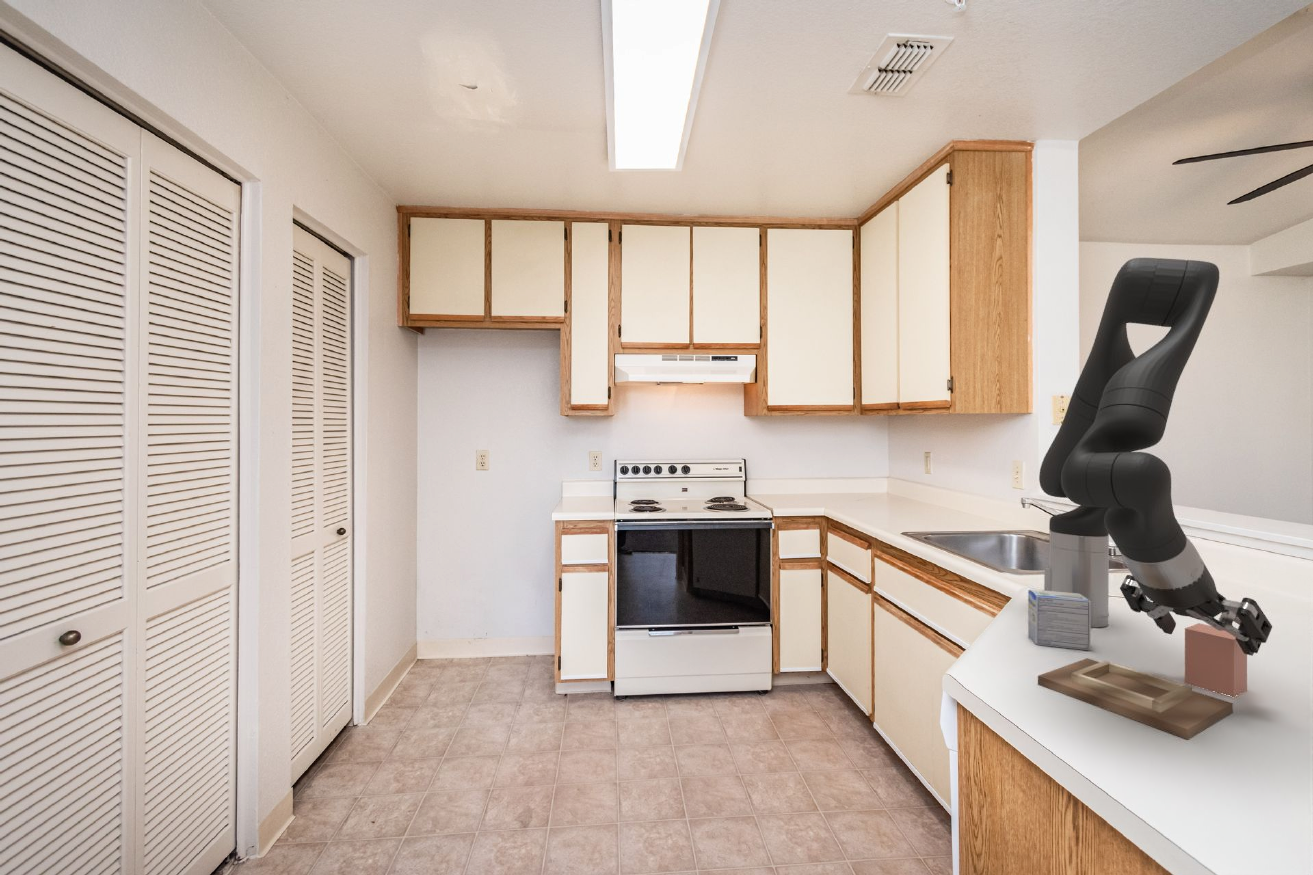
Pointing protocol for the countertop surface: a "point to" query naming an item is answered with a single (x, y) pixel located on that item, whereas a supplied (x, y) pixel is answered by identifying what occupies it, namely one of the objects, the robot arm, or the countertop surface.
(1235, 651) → the salmon pink rectangular block
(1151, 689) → the socket plate
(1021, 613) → the countertop surface
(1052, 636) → the medicine box
